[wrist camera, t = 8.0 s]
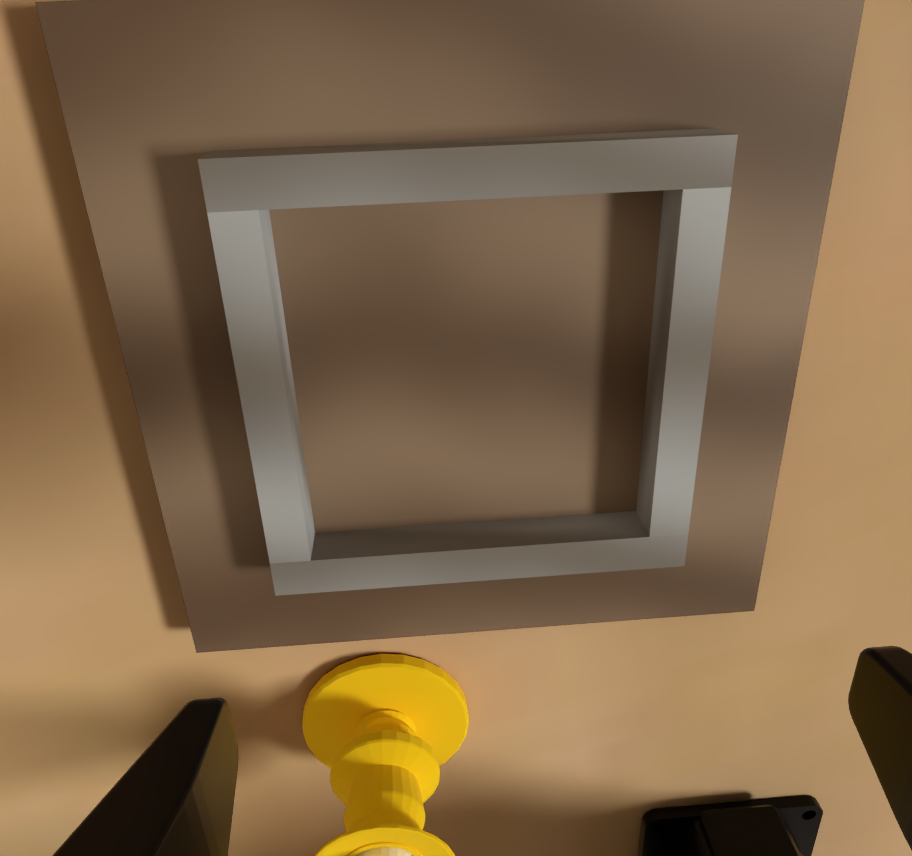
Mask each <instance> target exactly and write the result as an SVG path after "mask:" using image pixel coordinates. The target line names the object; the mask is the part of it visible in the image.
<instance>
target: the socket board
mask: <svg viewBox="0 0 912 856" xmlns="http://www.w3.org/2000/svg"><path fill="white" fill-rule="evenodd" d="M864 1H865V0H83V1H55V2H35V3H36V7H37V11H38V15H39V19H40V23H41V27H42V31H43V35H44V39H45V43H46V47H47V51H48V55H49V60H50V64H51V68H52V72H53V76H54V80H55V84H56V88H57V92H58V96H59V100H60V104H61V108H62V112H63V116H64V120H65V124H66V128H67V132H68V136H69V140H70V144H71V148H72V152H73V156H74V160H75V164H76V168H77V172H78V176H79V180H80V185H81V189H82V193H83V197H84V201H85V205H86V209H87V213H88V217H89V221H90V225H91V229H92V233H93V237H94V241H95V245H96V249H97V253H98V257H99V261H100V265H101V269H102V273H103V277H104V281H105V285H106V289H107V293H108V297H109V301H110V305H111V310H112V314H113V318H114V322H115V326H116V330H117V334H118V338H119V342H120V346H121V350H122V354H123V358H124V362H125V366H126V370H127V374H128V378H129V382H130V386H131V390H132V394H133V398H134V402H135V406H136V410H137V414H138V418H139V422H140V426H141V430H142V435H143V439H144V443H145V447H146V451H147V455H148V459H149V463H150V467H151V471H152V475H153V479H154V483H155V487H156V491H157V495H158V499H159V503H160V507H161V511H162V515H163V519H164V523H165V527H166V531H167V535H168V539H169V543H170V547H171V551H172V555H173V560H174V564H175V568H176V572H177V576H178V580H179V584H180V588H181V592H182V596H183V600H184V604H185V608H186V612H187V616H188V620H189V624H190V628H191V632H192V636H193V640H194V644H195V648H196V652H197V653H200V652H213V651H226V650H240V649H253V648H266V647H279V646H293V645H306V644H319V643H333V642H346V641H359V640H372V639H386V638H399V637H412V636H426V635H439V634H452V633H465V632H479V631H492V630H505V629H519V628H532V627H545V626H559V625H572V624H585V623H598V622H612V621H625V620H638V619H652V618H665V617H678V616H691V615H705V614H718V613H731V612H745V611H754V609H755V603H756V598H757V592H758V587H759V581H760V576H761V570H762V565H763V559H764V554H765V548H766V543H767V537H768V531H769V526H770V520H771V515H772V509H773V504H774V498H775V493H776V487H777V482H778V476H779V471H780V465H781V460H782V454H783V449H784V443H785V438H786V432H787V426H788V421H789V415H790V410H791V404H792V399H793V393H794V388H795V382H796V377H797V371H798V366H799V360H800V355H801V349H802V344H803V338H804V332H805V327H806V321H807V316H808V310H809V305H810V299H811V294H812V288H813V283H814V277H815V272H816V266H817V261H818V255H819V250H820V244H821V238H822V233H823V227H824V222H825V216H826V211H827V205H828V200H829V194H830V189H831V183H832V178H833V172H834V167H835V161H836V156H837V150H838V145H839V139H840V133H841V128H842V122H843V117H844V111H845V106H846V100H847V95H848V89H849V84H850V78H851V73H852V67H853V62H854V56H855V51H856V45H857V39H858V34H859V28H860V23H861V17H862V12H863V6H864Z"/></svg>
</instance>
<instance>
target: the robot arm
mask: <svg viewBox="0 0 912 856" xmlns="http://www.w3.org/2000/svg"><path fill="white" fill-rule="evenodd" d="M848 704H849V710H850V714H851V716H852V719H853V721H854V724H855V726H856V728H857V731H858V733H859V735H860V737H861V740H862V742H863V744H864V747H865V749H866V751H867V753H868V756H869V758H870V760H871V763H872V765H873V767H874V769H875V772H876V774H877V776H878V779H879V781H880V783H881V786H882V788H883V790H884V792H885V795H886V797H887V799H888V802H889V804H890V806H891V808H892V811H893V813H894V815H895V818H896V820H897V822H898V824H899V826H900V828H901V830H902V832H903V835H904V837H905V839H906V840H907V842H908V844H909V846H910V848H911V850H912V654H911V653H910V652H908V651H906V650H904V649H902V648H900V647H897V646H885V647H872V648H867V649H864V650H863V651H862V652H861V653H860V656H859V658H858V662H857V666H856V670H855V673H854V677H853V681H852V684H851V688H850V692H849V698H848ZM237 771H238V746H237V741H236V736H235V732H234V728H233V723H232V719H231V715H230V710H229V707H228V704H227V702H226V701H225V700H224V699H222V698H210V699H197V700H192V701H190V702H189V703H187V704H186V705H185V706H184V707H183V708H182V710H181V711H180V712H179V713H178V714H177V715H176V716H175V717H174V719H173V720H172V721H171V722H170V723H169V724H168V725H167V727H166V728H165V729H164V730H163V731H162V732H161V733H160V734H159V736H158V737H157V738H156V739H155V740H154V741H153V742H152V744H151V745H150V746H149V747H148V748H147V749H146V750H145V751H144V753H143V754H142V755H141V756H140V757H139V758H138V759H137V761H136V762H135V763H134V764H133V765H132V766H131V767H130V768H129V770H128V771H127V772H126V773H125V774H124V775H123V776H122V778H121V779H120V780H119V781H118V782H117V783H116V784H115V785H114V787H113V788H112V789H111V790H110V791H109V792H108V793H107V794H106V796H105V797H104V798H103V799H102V800H101V801H100V802H99V804H98V805H97V806H96V807H95V808H94V809H93V810H92V811H91V813H90V814H89V815H88V816H87V817H86V818H85V819H84V821H83V822H82V823H81V824H80V825H79V826H78V827H77V828H76V830H75V831H74V832H73V833H72V834H71V835H70V836H69V838H68V839H67V840H66V841H65V842H64V843H63V844H62V845H61V847H60V848H59V849H58V850H57V851H56V852H55V853H54V855H53V856H228V848H229V839H230V831H231V822H232V814H233V805H234V796H235V788H236V779H237ZM822 814H823V810H822V809H821V807H820V805H819V803H818V801H817V800H816V799H815V798H814V797H812V796H801V797H789V798H778V799H766V800H755V801H743V802H732V803H720V804H709V805H697V806H686V807H674V808H663V809H654V810H651V811H649V812H647V813H646V814H645V815H644V816H643V818H642V822H641V830H640V839H639V848H638V856H811V854H812V851H813V847H814V843H815V840H816V836H817V833H818V829H819V825H820V822H821V818H822Z"/></svg>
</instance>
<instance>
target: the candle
mask: <svg viewBox="0 0 912 856" xmlns="http://www.w3.org/2000/svg"><path fill="white" fill-rule="evenodd" d="M468 722H469V717H468V709H467V704H466V699H465V695H464V693H463V691H462V690H461V688H460V686H459V685H458V683H457V681H456V680H455V679H453V678H452V677H451V676H450V675H449V674H448V673H447V672H445V671H444V670H443V669H442V668H440V667H438V666H436V665H434V664H432V663H430V662H428V661H426V660H423V659H419V658H415V657H411V656H407V655H403V654H376V655H370V656H364V657H359V658H357V659H354V660H351V661H349V662H346V663H344V664H341V665H339V666H337V667H336V668H334V669H333V670H331V671H330V672H328V673H327V674H325V675H324V676H323V677H322V678H321V679H320V680H319V681H318V682H317V683H316V685H315V686H314V687H313V688H312V689H311V691H310V693H309V695H308V698H307V700H306V703H305V705H304V711H303V729H302V731H303V734H304V737H305V740H306V743H307V746H308V747H309V748H310V750H311V751H312V752H313V754H314V755H315V756H316V757H317V759H318V760H320V761H321V762H322V763H324V764H325V765H326V766H328V767H329V768H331V776H330V783H331V786H332V789H333V792H334V793H335V794H336V795H337V797H338V798H339V799H340V801H342V802H343V803H344V804H346V809H345V813H344V827H345V830H346V833H344V834H341V835H339V836H337V837H336V838H334V839H332V840H331V841H329V842H328V843H326V844H325V845H324V846H323V847H322V848H321V849H320V850H319V851H318V852H317V853H316V854H315V855H314V856H455V854H454V853H453V851H452V850H451V849H450V847H449V846H448V845H447V844H446V843H445V842H443V841H442V840H441V839H439V838H438V837H436V836H435V835H433V834H430V833H428V832H425V831H423V827H424V823H425V811H424V806H423V803H424V802H425V801H426V800H427V799H428V798H429V797H430V796H431V795H432V794H433V793H434V791H435V789H436V787H437V786H438V784H439V777H440V765H442V764H443V763H445V762H446V761H447V760H448V759H449V758H450V757H451V756H452V755H453V754H454V753H455V752H456V751H457V750H458V749H459V747H460V746H461V744H462V742H463V740H464V738H465V736H466V734H467V728H468Z"/></svg>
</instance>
